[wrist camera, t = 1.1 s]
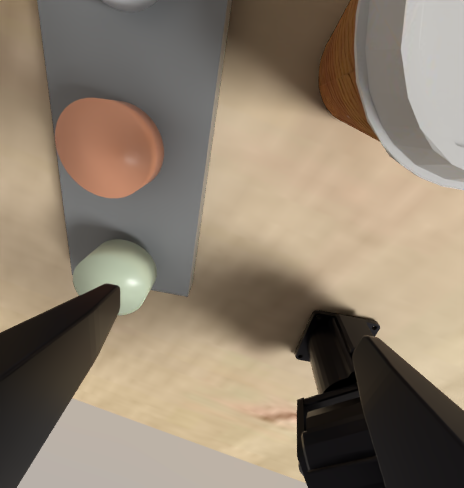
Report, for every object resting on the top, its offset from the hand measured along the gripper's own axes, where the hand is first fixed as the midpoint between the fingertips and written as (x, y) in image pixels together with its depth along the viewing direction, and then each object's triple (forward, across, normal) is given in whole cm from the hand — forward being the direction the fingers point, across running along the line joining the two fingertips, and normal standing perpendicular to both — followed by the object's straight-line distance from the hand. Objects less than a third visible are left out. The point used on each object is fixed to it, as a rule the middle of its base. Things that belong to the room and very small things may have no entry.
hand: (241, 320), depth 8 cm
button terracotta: (+10, +8, -3) cm, 13 cm away
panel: (+13, +8, -3) cm, 16 cm away
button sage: (+10, +8, +6) cm, 14 cm away
